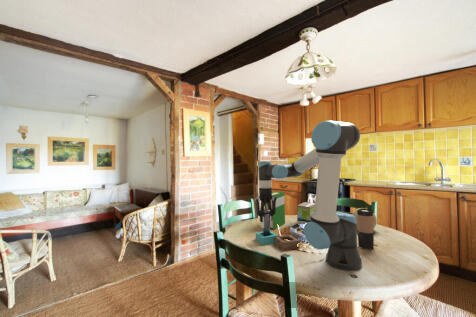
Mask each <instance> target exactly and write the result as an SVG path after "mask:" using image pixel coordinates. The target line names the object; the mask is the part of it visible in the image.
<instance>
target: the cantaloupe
mask: <svg viewBox="0 0 476 317" xmlns="http://www.w3.org/2000/svg"><path fill="white" fill-rule="evenodd" d="M359 209H368V207H365V208H364V207H359V208H356V209H355V210H354V211H353V212H352V213H351V215H354V216H355V217H356V223H357V210H359ZM377 221H378V220H377V216H376V213H374V212H373V225H374V228H375V227H376V226H377ZM357 229H358V223H357Z"/></svg>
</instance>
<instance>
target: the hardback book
mask: <svg viewBox="0 0 476 317" xmlns="http://www.w3.org/2000/svg"><path fill="white" fill-rule="evenodd" d="M272 196H273V197H276V198H277V199H276V214H274V215H273V220H272V221H271V224H272V227H270V229H273V230H274V231H275V230H277V229H278V228H277V224H278V225H279V228H281V227H282V226H283V225H285V224H286V209H285V208H286V205H285V204H286V203H285V191H280V190H279V191H278V190H275V191H272ZM271 208H272V199H271ZM264 209H268V206H267V203H265V205H264ZM269 215H270V214H269ZM273 230H272V231H273Z"/></svg>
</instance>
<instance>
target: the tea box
mask: <svg viewBox="0 0 476 317" xmlns="http://www.w3.org/2000/svg"><path fill="white" fill-rule="evenodd" d="M296 210H297V211H296V215H297V216H296V218H297V219H296V220H297V221H296V223H297V224H305V223H308V222H310V218H311V213H312V212H314V211H315V202H305V201H304V202H302V203H299V204H297V207H296ZM297 224H296V225H297Z"/></svg>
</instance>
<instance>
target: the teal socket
mask: <svg viewBox="0 0 476 317" xmlns="http://www.w3.org/2000/svg"><path fill="white" fill-rule="evenodd" d="M277 236H279V235H278V234H277V233H275V232H273V230H270V236H263V231H258V232H255V241H257V242H258V243H260V245H262V246H266V245H272V244H274V245H275V237H277Z"/></svg>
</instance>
